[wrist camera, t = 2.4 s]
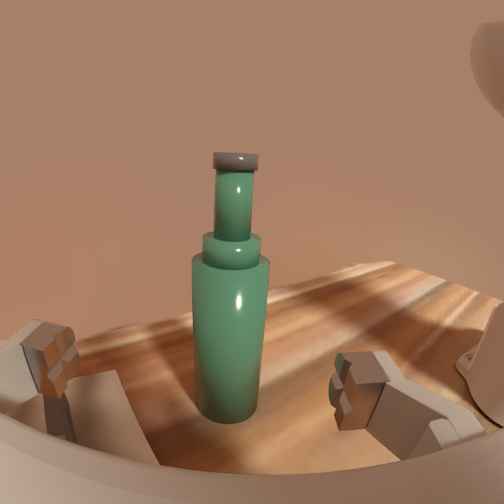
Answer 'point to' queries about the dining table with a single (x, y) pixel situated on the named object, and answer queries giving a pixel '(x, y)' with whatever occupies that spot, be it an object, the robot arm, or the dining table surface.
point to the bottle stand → (89, 417)
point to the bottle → (229, 298)
